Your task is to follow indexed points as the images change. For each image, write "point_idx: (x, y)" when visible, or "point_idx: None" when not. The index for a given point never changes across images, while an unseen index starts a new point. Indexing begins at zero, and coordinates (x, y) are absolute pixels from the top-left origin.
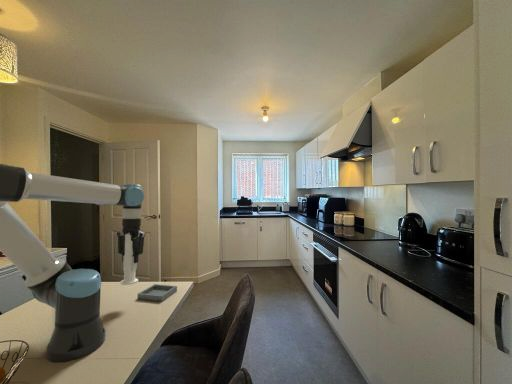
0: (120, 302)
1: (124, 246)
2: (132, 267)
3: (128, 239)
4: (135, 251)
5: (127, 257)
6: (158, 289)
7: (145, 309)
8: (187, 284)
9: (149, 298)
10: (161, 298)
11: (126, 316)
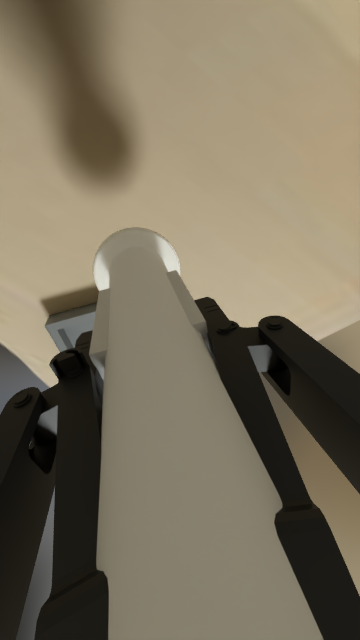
0: (180, 242)
1: (240, 399)
2: (98, 301)
3: (155, 594)
4: (58, 408)
5: (132, 318)
6: None
7: (39, 248)
8: None
9: None
10: (48, 321)
11: (40, 170)
